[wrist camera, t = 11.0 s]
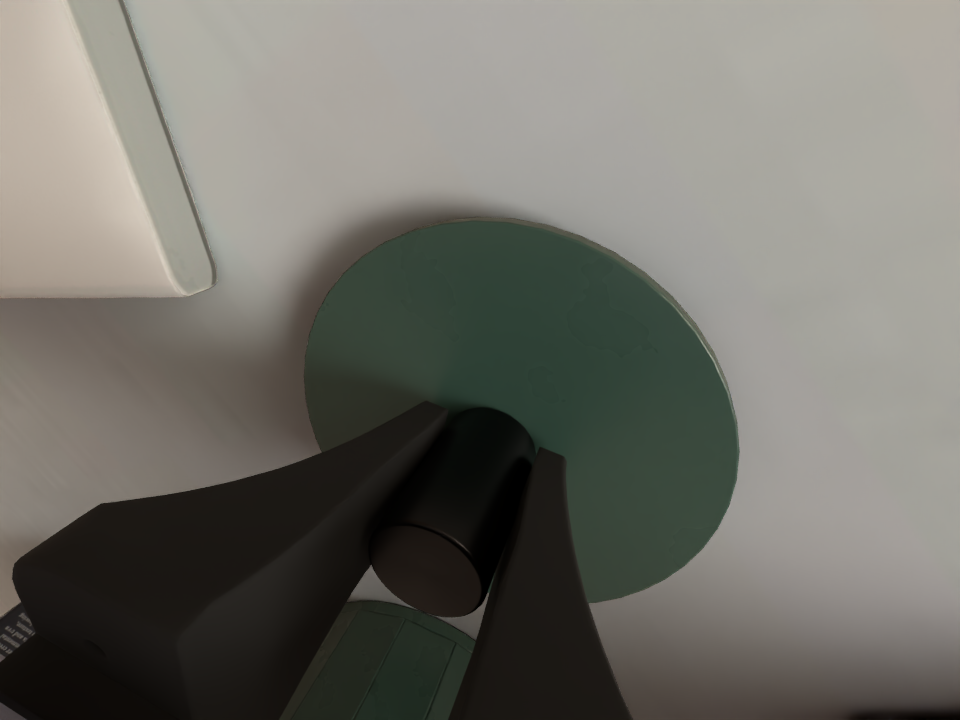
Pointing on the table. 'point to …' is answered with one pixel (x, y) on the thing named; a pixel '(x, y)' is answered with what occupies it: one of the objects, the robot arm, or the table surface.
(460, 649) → the green faceted bucket
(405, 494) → the lid
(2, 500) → the table surface
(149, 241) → the hard drive
